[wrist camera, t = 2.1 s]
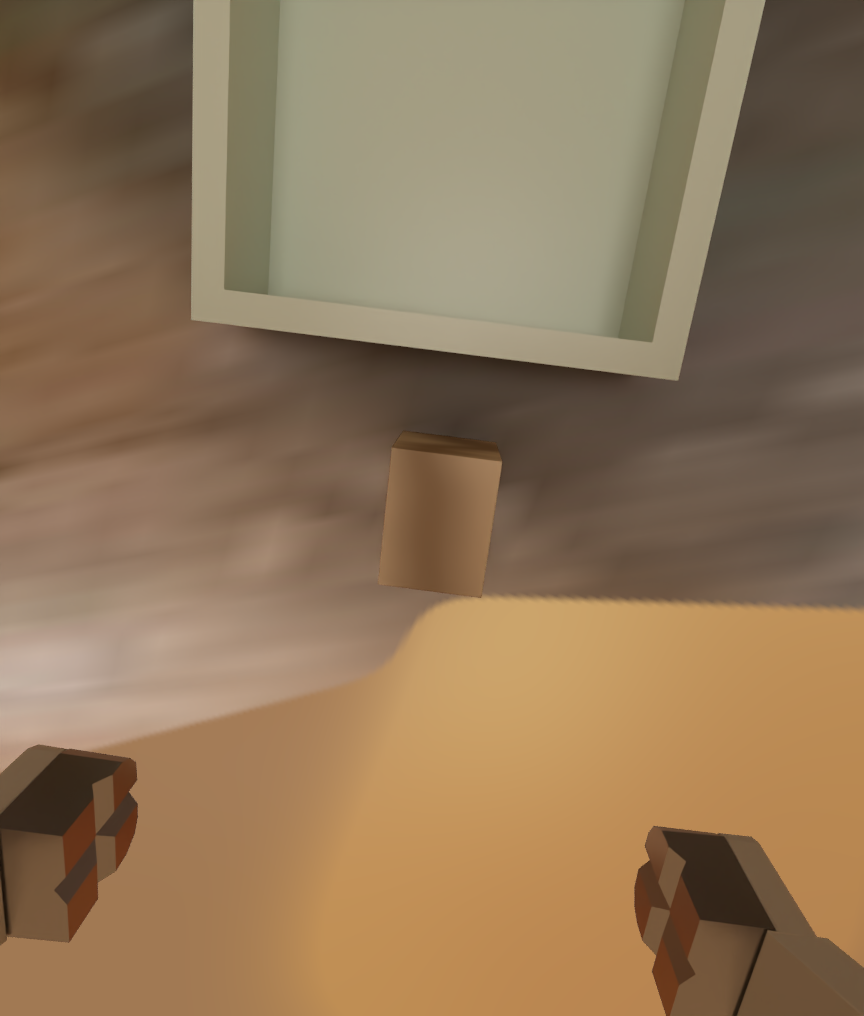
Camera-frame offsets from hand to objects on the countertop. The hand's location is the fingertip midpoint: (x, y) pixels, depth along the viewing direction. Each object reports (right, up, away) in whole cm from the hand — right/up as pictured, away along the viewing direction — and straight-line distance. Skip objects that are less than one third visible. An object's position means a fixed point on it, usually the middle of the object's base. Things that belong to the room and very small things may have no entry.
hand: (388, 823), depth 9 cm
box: (+2, +21, +16) cm, 26 cm away
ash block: (+1, +6, +20) cm, 21 cm away
